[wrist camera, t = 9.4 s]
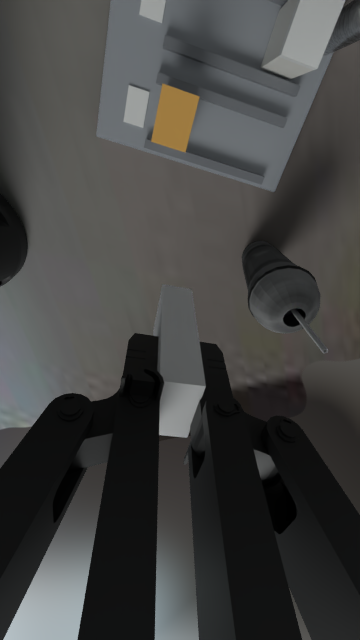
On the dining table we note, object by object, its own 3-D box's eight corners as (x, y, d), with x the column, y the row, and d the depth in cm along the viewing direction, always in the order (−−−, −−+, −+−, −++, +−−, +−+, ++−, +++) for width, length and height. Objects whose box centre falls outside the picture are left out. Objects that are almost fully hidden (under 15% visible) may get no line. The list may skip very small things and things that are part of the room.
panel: (102, 135, 33) (94, 136, 30) (126, -66, 25) (117, -94, 22) (267, 187, 36) (276, 193, 33) (334, 23, 28) (355, 9, 25)
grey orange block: (156, 138, 31) (151, 141, 25) (165, 91, 29) (162, 83, 23) (184, 147, 31) (185, 152, 26) (195, 101, 29) (199, 96, 24)
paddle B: (260, 68, 28) (281, 54, 22) (279, 10, 26) (307, -22, 20) (289, 79, 28) (317, 68, 23) (310, 23, 26) (347, -5, 21)
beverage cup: (244, 223, 39) (293, 300, 22) (294, 238, 40) (378, 322, 23) (224, 273, 43) (253, 370, 26) (270, 286, 44) (327, 387, 27)
